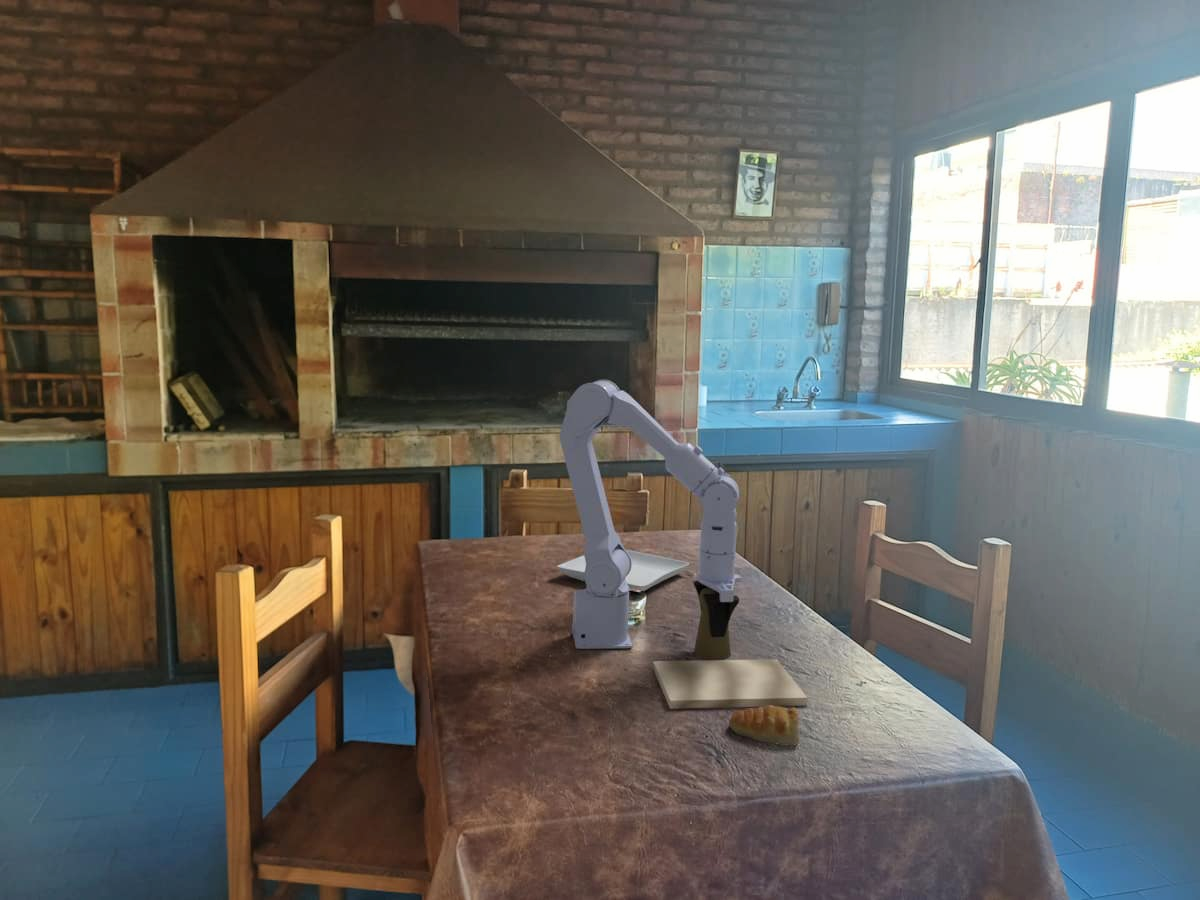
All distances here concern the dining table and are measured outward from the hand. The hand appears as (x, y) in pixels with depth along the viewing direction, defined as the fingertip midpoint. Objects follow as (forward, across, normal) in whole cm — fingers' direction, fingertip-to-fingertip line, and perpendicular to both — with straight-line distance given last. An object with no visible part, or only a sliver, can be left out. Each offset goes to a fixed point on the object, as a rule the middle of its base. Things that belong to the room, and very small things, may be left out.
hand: (713, 630), depth 141 cm
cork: (+4, 0, 0) cm, 4 cm away
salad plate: (+4, +42, +9) cm, 43 cm away
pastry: (+4, -28, -1) cm, 28 cm away
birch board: (+4, -13, +1) cm, 14 cm away
